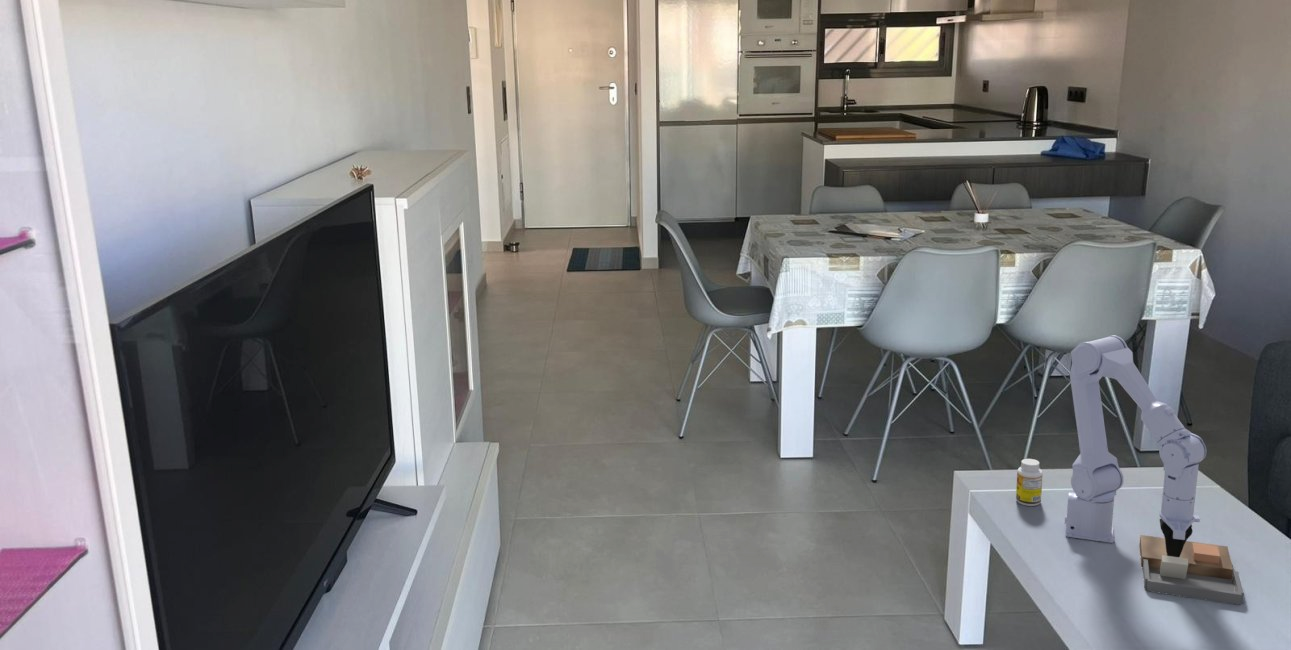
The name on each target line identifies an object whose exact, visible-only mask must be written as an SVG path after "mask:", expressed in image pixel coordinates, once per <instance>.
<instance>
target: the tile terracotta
mask: <svg viewBox="0 0 1291 650" xmlns="http://www.w3.org/2000/svg"><path fill="white" fill-rule="evenodd" d="M1199 543H1200V542H1198V543H1192V555H1193V560H1197V561H1204V562H1211V563H1219V561H1220V554H1219V550H1218V546H1214V545H1215V544H1213V545H1206V544H1207V543H1205V544H1199Z"/></svg>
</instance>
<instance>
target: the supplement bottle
mask: <svg viewBox="0 0 1291 650" xmlns="http://www.w3.org/2000/svg"><path fill="white" fill-rule="evenodd" d="M1020 462H1021V464H1020V466H1019V467H1018V469H1017V470H1016V472H1017V473H1016V474H1017V475H1016V488H1015V489H1016V492H1015V493H1016V495H1015V500H1016V501H1017V502H1018V504H1020V505H1023V506H1025V507H1026V506H1028V507H1034V506H1035V507H1036V506H1038V505H1040V504H1041V503H1042V492H1043V491H1042V490H1043V489H1042V488H1043V470H1042V469H1041V468H1040V461H1039V460H1037V459H1035V458H1034V459H1033V458H1025V459H1022V460H1021V461H1020Z"/></svg>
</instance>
